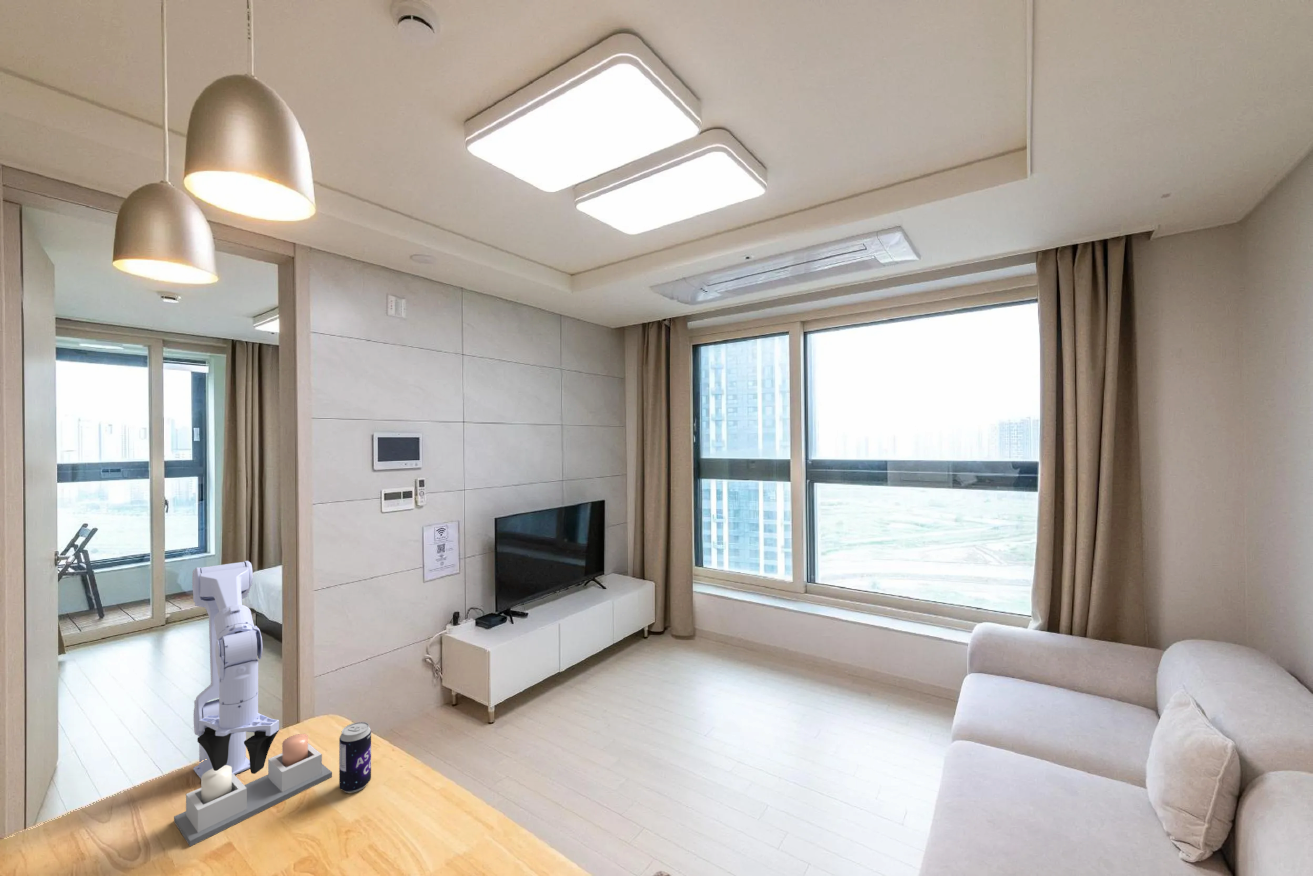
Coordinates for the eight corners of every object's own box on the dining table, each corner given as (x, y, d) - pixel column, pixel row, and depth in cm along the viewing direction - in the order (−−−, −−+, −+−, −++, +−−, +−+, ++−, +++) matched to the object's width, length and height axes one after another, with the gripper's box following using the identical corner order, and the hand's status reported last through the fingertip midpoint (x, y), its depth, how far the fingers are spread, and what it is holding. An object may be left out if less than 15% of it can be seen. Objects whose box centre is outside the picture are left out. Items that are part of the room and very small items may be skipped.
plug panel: (174, 821, 97) (174, 795, 97) (311, 759, 116) (311, 737, 116) (189, 846, 92) (189, 818, 92) (331, 776, 110) (332, 753, 110)
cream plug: (198, 796, 98) (198, 774, 98) (227, 783, 102) (227, 762, 102) (205, 806, 95) (205, 783, 95) (235, 793, 99) (235, 771, 99)
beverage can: (356, 797, 104) (356, 738, 104) (332, 793, 105) (332, 734, 105) (377, 779, 110) (377, 722, 110) (354, 775, 111) (354, 719, 111)
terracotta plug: (278, 761, 109) (278, 741, 109) (302, 751, 112) (302, 731, 112) (287, 769, 106) (287, 748, 106) (311, 758, 110) (311, 738, 110)
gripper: (182, 705, 94) (182, 780, 94) (256, 710, 93) (256, 786, 93) (218, 686, 101) (218, 755, 101) (288, 691, 100) (287, 761, 100)
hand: (238, 768), depth 98 cm, fingers open, 7 cm apart
